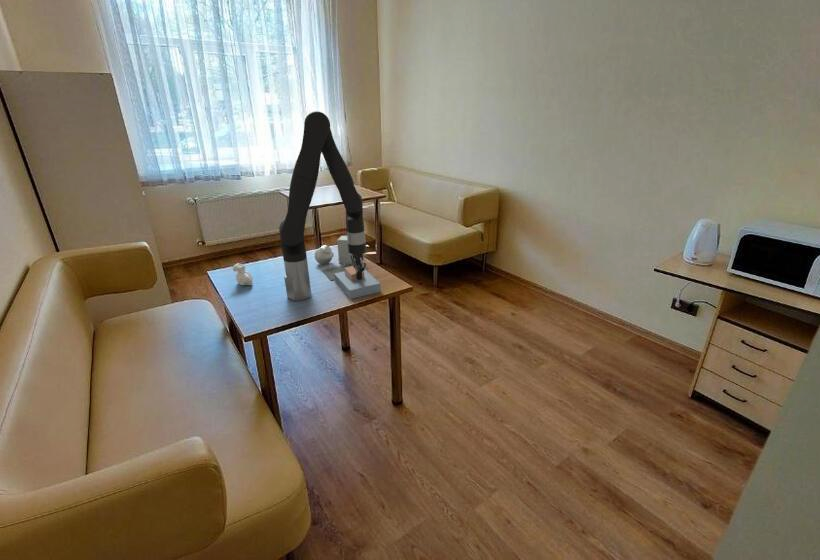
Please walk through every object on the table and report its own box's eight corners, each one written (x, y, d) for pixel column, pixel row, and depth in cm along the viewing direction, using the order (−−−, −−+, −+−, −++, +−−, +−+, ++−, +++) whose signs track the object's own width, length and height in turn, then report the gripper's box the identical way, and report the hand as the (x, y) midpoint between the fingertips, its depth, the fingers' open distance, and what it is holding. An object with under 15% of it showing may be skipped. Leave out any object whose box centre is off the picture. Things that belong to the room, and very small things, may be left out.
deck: (380, 291, 178) (380, 283, 177) (350, 298, 173) (349, 290, 171) (363, 275, 195) (362, 267, 193) (334, 281, 189) (334, 273, 187)
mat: (365, 273, 196) (365, 273, 196) (330, 281, 189) (330, 280, 189) (354, 263, 208) (354, 263, 208) (321, 270, 201) (321, 270, 200)
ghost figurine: (322, 269, 202) (320, 250, 198) (312, 263, 209) (310, 245, 205) (337, 264, 208) (336, 245, 204) (327, 259, 214) (325, 241, 210)
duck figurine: (241, 283, 193) (222, 269, 186) (253, 271, 195) (234, 257, 187) (249, 292, 185) (229, 278, 177) (261, 279, 186) (241, 265, 178)
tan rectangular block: (364, 278, 182) (364, 272, 181) (351, 281, 179) (351, 274, 178) (357, 271, 189) (356, 265, 188) (344, 273, 187) (344, 267, 185)
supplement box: (352, 264, 207) (351, 240, 202) (338, 263, 209) (336, 239, 203) (356, 258, 214) (355, 235, 209) (343, 258, 215) (341, 235, 210)
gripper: (370, 244, 168) (373, 282, 175) (359, 235, 178) (362, 272, 186) (353, 247, 165) (356, 286, 172) (342, 238, 175) (346, 275, 183)
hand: (359, 279), depth 179 cm, fingers closed
